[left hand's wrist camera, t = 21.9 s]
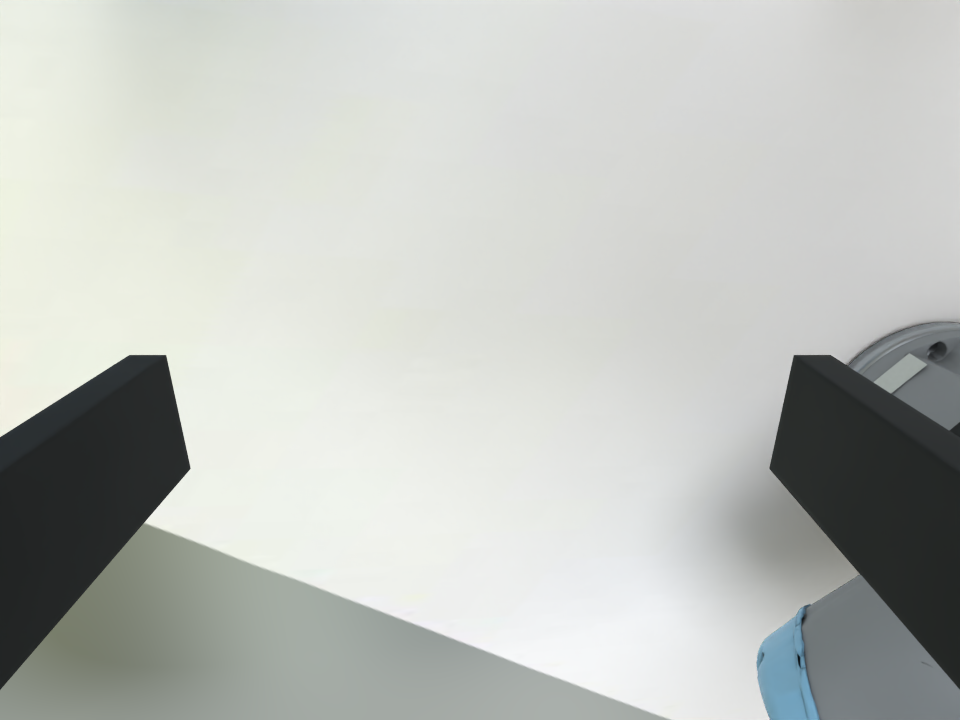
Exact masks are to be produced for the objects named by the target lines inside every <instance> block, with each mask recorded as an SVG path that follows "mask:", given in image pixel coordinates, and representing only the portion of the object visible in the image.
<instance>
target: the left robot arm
mask: <svg viewBox="0 0 960 720" xmlns="http://www.w3.org/2000/svg"><path fill="white" fill-rule="evenodd" d="M189 470H190V464H189V459H188V455H187V450H186V445H185V441H184V436H183V432H182V427H181V422H180V418H179V413H178V408H177V404H176V399H175V394H174V390H173V385H172V380H171V376H170V371H169V367H168V362H167V357H166V355H129V356H127V357H126V358H124V359H123V360H121V361H120V362H118V363H116V364H115V365H113V366H112V367H110V368H109V369H107V370H105V371H104V372H102V373H101V374H99V375H97V376H96V377H94V378H93V379H91V380H90V381H88V382H86V383H85V384H83V385H82V386H80V387H79V388H77V389H75V390H74V391H72V392H71V393H69V394H68V395H66V396H64V397H63V398H61V399H60V400H58V401H57V402H55V403H53V404H52V405H50V406H49V407H47V408H46V409H44V410H42V411H41V412H39V413H38V414H36V415H35V416H33V417H31V418H30V419H28V420H27V421H25V422H24V423H22V424H20V425H19V426H17V427H16V428H14V429H13V430H11V431H9V432H8V433H6V434H5V435H3V436H1V437H0V689H1V688H2V687H3V686H4V685H5V683H6V682H7V681H8V680H9V679H10V678H11V677H12V675H13V674H14V673H15V672H16V671H17V670H18V668H19V667H20V666H21V665H22V664H23V663H24V661H25V660H26V659H27V658H28V657H29V656H30V655H31V653H32V652H33V651H34V650H35V649H36V648H37V646H38V645H39V644H40V643H41V642H42V641H43V639H44V638H45V637H46V636H47V635H48V634H49V632H50V631H51V630H52V629H53V628H54V627H55V625H56V624H57V623H58V622H59V621H60V620H61V618H62V617H63V616H64V615H65V614H66V613H67V612H68V610H69V609H70V608H71V607H72V606H73V604H74V603H75V602H76V601H77V600H78V599H79V598H80V596H81V595H82V594H83V593H84V592H85V591H86V589H87V588H88V587H89V586H90V585H91V584H92V582H93V581H94V580H95V579H96V578H97V577H98V575H99V574H100V573H101V572H102V571H103V570H104V569H105V567H106V566H107V565H108V564H109V563H110V562H111V560H112V559H113V558H114V557H115V556H116V555H117V553H118V552H119V551H120V550H121V549H122V548H123V546H124V545H125V544H126V543H127V542H128V541H129V539H130V538H131V537H132V536H133V535H134V534H135V533H136V531H137V530H138V529H139V528H140V527H141V526H142V524H143V523H144V522H145V521H146V520H147V519H148V517H149V516H150V515H151V514H152V513H153V512H154V510H155V509H156V508H157V507H158V506H159V505H160V504H161V502H162V501H163V500H164V499H165V498H166V497H167V495H168V494H169V493H170V492H171V491H172V490H173V488H174V487H175V486H176V485H177V484H178V483H179V481H180V480H181V479H182V478H183V477H184V476H185V474H186V473H187V472H188V471H189ZM770 470H771V471H772V472H773V473H774V474H775V476H776V477H777V478H778V479H779V480H780V481H781V483H782V484H783V485H784V486H785V487H786V488H787V490H788V491H789V492H790V493H791V494H792V495H793V497H794V498H795V499H796V500H797V501H798V502H799V504H800V505H801V506H802V507H803V508H804V509H805V510H806V512H807V513H808V514H809V515H810V516H811V517H812V519H813V520H814V521H815V522H816V523H817V524H818V526H819V527H820V528H821V529H822V530H823V531H824V533H825V534H826V535H827V536H828V537H829V538H830V540H831V541H832V542H833V543H834V544H835V545H836V546H837V548H838V549H839V550H840V551H841V552H842V553H843V555H844V556H845V557H846V558H847V559H848V560H849V562H850V563H851V564H852V565H853V566H854V567H855V569H856V570H857V571H858V572H859V573H860V575H858V576H857V577H855V578H854V579H852V580H851V581H849V582H848V583H846V584H844V585H843V586H841V587H840V588H838V589H836V590H835V591H833V592H831V593H830V594H828V595H827V596H825V597H823V598H822V599H820V600H818V601H817V602H815V603H814V604H812V605H811V604H809V605H806V606H804V607H802V608H801V609H800V610H799V611H798V613H797V615H796V616H795V617H794V618H792V619H791V620H790V621H788V622H787V623H786V624H785V625H783V626H782V627H780V628H779V629H778V630H776V631H775V632H773V633H772V634H771V635H769V636H768V637H767V638H766V639H765V640H764V641H763V643H762V644H761V646H760V648H759V651H758V655H757V671H758V682H759V687H760V691H761V695H762V698H763V701H764V704H765V707H766V710H767V713H768V715H769V718H770V720H960V323H954V322H939V323H929V324H923V325H919V326H915V327H911V328H908V329H905V330H902V331H899V332H897V333H895V334H892V335H890V336H888V337H886V338H884V339H882V340H881V341H879V342H877V343H876V344H874V345H872V346H871V347H870V348H868V349H867V350H865V351H864V352H863V353H862V354H860V355H859V356H858V357H857V358H856V359H854V360H853V361H852V362H851V363H850V364H849V365H848V366H847V365H845V364H844V363H842V362H840V361H839V360H837V359H836V358H834V357H833V356H831V355H794V357H793V362H792V367H791V371H790V376H789V380H788V385H787V390H786V394H785V399H784V404H783V408H782V413H781V418H780V422H779V427H778V432H777V436H776V441H775V445H774V450H773V455H772V459H771V464H770Z"/></svg>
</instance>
